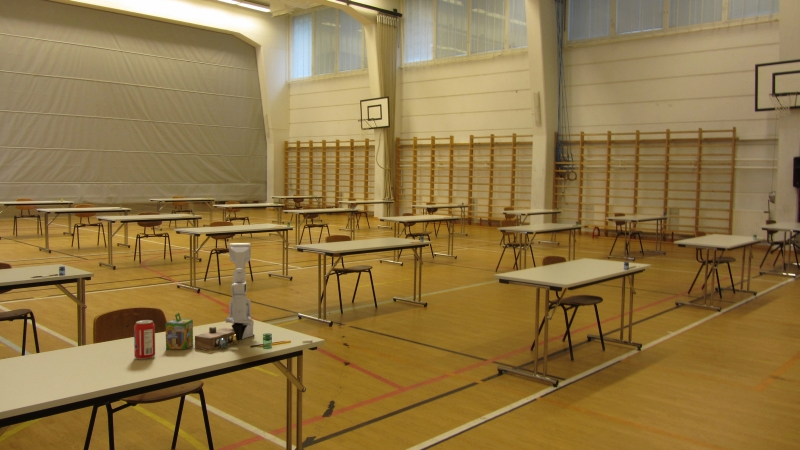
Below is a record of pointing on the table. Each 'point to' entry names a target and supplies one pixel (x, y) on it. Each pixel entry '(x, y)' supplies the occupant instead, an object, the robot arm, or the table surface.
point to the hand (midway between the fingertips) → (239, 340)
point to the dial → (212, 329)
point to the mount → (212, 339)
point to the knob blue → (221, 342)
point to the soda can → (144, 339)
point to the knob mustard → (233, 338)
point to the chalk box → (179, 333)
